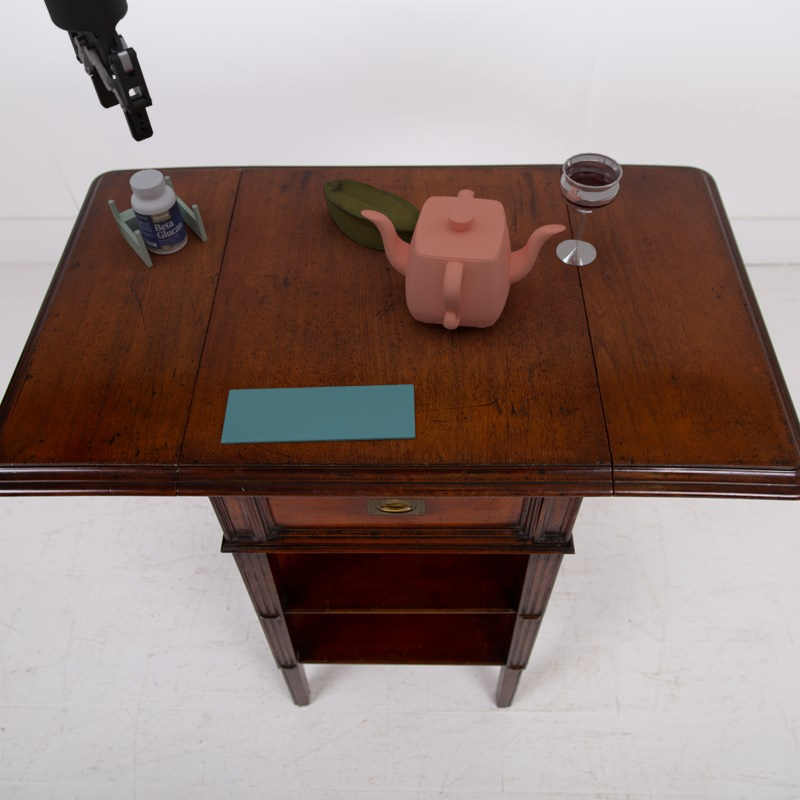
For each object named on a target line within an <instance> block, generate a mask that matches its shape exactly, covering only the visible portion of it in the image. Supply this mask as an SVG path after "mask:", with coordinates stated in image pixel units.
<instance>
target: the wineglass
mask: <svg viewBox="0 0 800 800" xmlns="http://www.w3.org/2000/svg"><path fill="white" fill-rule="evenodd" d="M562 172H563V173H562V175H561V177H560V180H559V193H560V195H561V198H562V201H563V202H564V203H565V204H566V205H567V206H568V207H569V208H570V209H572V210H573V211H575V212H577V213H580V214H579V223H578V227H577V236H576V238H572V239H566V240H563V241H561V242H560V243H559V244H558V245H557V247H556V250H555V252H556V255H557V257H558V259H559V260H560V261H562V262H564V263H565V264H567V265H571V266H586V265H588V264H591V263H592V262H594V261H595V259H596V258H597V250H596V248H595V247H594V246H593V244H591V243H589V242H588V241H586V240H582V236H583V231H584V228H585V224H586V220H587V217H588V214H589V215H591V214H595V213H599V212H601V211H603V210H606V209H607V208H609V207H610V206H611V205H612V204H613V203H614V202H615V201H616V198H617V197H618V195H619V193H620V185H621V184H620V179H621V178H622V177H623V168H622V166H621V164H620V163H619V162H618V161H617V160H616V159H614V158H612V157H610V156H609V155H605V154H602V153H599V152H581V153H577V154H574V155H572V156H570V157H568V158H567V159H566V160H565V162H563V164H562Z"/></svg>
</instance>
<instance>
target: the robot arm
mask: <svg viewBox="0 0 800 800" xmlns="http://www.w3.org/2000/svg"><path fill="white" fill-rule="evenodd" d="M43 2H44V5H45V7H46V10H47V13H48V15H49V18H50V20H51V22H52V23H53V24H54V26H55V27H57V28H58V29H60V30H62V31H65V32H67V34H68V37H69V40H70V42H71V46H72V48H73V51H74V53H75V58H76V60H77V62H79V64H80V65H82V64H83V66H84V72H85V73H86V74H87V75H88V76H89V77H90V80H91V82H92V85H93V88H94V91H95V93H96V95H97V98H98V101H99V104H100V105H101V107H103V109H106V110H107V109H110V108H113V107H115V106H120V108H121V110H122V112H123V115H124V118H125V121H126V123H127V127H128V129H129V132H130V135H131V137H132V139H133V140H134V141H136V142H137V143H138V142H139V143H140V142H142V141H144V140H148V139H151V138H152V137H153V135H154V130H153V127H152V125H151V124H152V123H151V121H150V117H149V113H148V111H147V108H149V107H152V106H153V99H152V97H151V95H150V91H149V88H148V85H147V83H146V80H145V76H144V73H143V70H142V67H141V64H140V61H139V58H138V53H137V51H136V50H135V49H134V47H132V46H130V47H129V46H128V44H127V43H126V40H125V37H124V36H123V35H122V33H118V31H117V29H116V28H117V25H118V24H119V22H120V21H121V20H123V19H124V18H125V16H126V15H127V13H128V10H129V5H128V1H127V0H43ZM114 77H115V78H114ZM130 90H133V92H134V94H133V95H130V94H131V93H130Z"/></svg>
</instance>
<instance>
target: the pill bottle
mask: <svg viewBox="0 0 800 800" xmlns="http://www.w3.org/2000/svg"><path fill="white" fill-rule="evenodd" d="M164 177H165V176H164V175H163V173H162V172H161V171H159V170H157V169H153V168H152V169H151V168H149V169H142V170H139V171H137V172H136V173H133V175H131V177H130V178H129V186H130V187H131V191H132V195H131V198H130V204H131V208H133V211H134V213H135V216H136V219H137V222H138V224H139V227H140V230H141V232H142V238H143V241H144V243H145V246H146V248H147V250H149V251H150V252H152V253H153V254H157V255H171V254H174V253H176V252H179V251H180V250H182V249H183V248H184V247H185V246H186V245H187V243H188V240H189V235H188V231H187V228H186V225H185V221H184V220H183V218H182V215H181V212H180V209H179V206H178V202H177V199H176V196H175V194H176V192H175V190H174V191H173V190H172V189H171V188H170V187H169V186H167V185H166V182H165V179H164Z"/></svg>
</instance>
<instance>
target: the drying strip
mask: <svg viewBox="0 0 800 800" xmlns="http://www.w3.org/2000/svg"><path fill="white" fill-rule="evenodd" d="M415 414H416V413H415V386H414V384H411V383H410V384H385V385H384V384H379V385H377V384H376V385H347V386H346V385H345V386H315V387H314V386H313V387H278V388H277V387H276V388H247V389H246V388H245V389H244V388H243V389H229V392H228V397H227V404H226V409H225V416H224V420H223V421H224V422H223V428H222V433H221V434H222V435H221V440H220V443H221V445H234V444H235V445H236V444H264V443H265V444H269V443H271V444H273V443H299V442H300V443H302V442H305V443H306V442H307V443H308V442H337V441H338V442H339V441H340V442H341V441H343V442H344V441H345V442H346V441H378V440H380V441H381V440H408V439H409V440H410V439H412V440H413V439H416V419H415V418H416V417H415Z"/></svg>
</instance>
